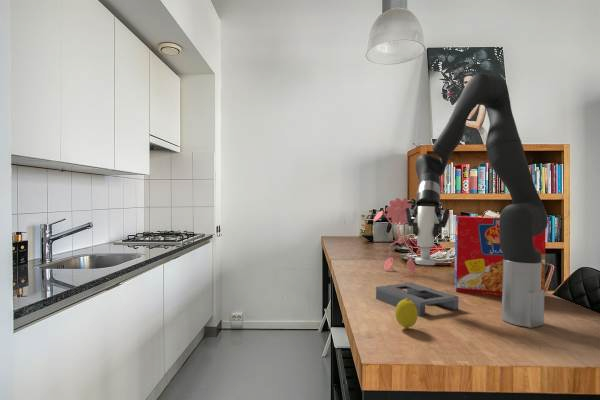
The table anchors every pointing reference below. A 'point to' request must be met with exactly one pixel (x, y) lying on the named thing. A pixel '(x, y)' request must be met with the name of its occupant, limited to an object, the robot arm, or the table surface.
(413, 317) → the lemon
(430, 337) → the table surface
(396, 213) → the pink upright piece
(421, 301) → the keyhole plate
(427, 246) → the footed peg
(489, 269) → the pasta box
